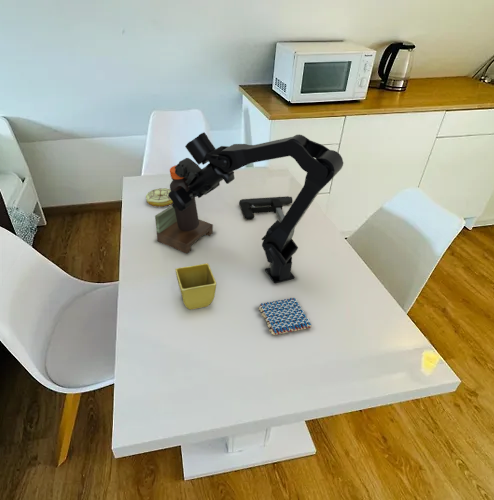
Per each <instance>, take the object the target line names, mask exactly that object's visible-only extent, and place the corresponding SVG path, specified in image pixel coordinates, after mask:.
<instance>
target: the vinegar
mask: <svg viewBox="0 0 494 500" xmlns="http://www.w3.org/2000/svg"><path fill="white" fill-rule="evenodd" d="M175 166H177V164H176V165H175V164H174V165H173V166H171V167H170V168H169V175H170V178H171V180H172V181H171V182H170V184H169V189H170V190H171V191H172V190H173V189H175V188H176V187H178V186H181V187H183V188H184V189H185V190H186V192H187V191H189V190H190V188H189V187H188V186H189V185H187V184H186V182H185V181H187V180H188V179H185V178H184V177H182V178H180V177H179V176H178V175H177V174H176V173H175ZM192 194H193V193H192ZM192 194H190V195H192ZM190 195H189V196H190ZM174 209H175V214H176V219H177V224H178V227H179V229H181V230H183V231H191V230H194V229H196V228H197V227H198V225H199V220H200V219H199V214H198V209H197V201H196V197H194V198H192V205H190V206H189V207H188V208H186V209H185V210H183V211H179V209H178V208H174Z"/></svg>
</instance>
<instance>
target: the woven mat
mask: <svg viewBox="0 0 494 500" xmlns="http://www.w3.org/2000/svg"><path fill="white" fill-rule="evenodd" d="M299 304H300V302H299V301H298V299H296V298H295V297H290V298H287V299H286V298H284V299H281V300H280V299H278V300H276V301H274V300H273V301H270V302H269V301H267V302H264V303H263V302H261V303H260V304H259V307H258V311H260V312H261V317H263V318H264V319H265V321H266V322H267V323H266V325H267V327H268V328H269V330H268V332H269V333H271V334H272V335H274V336H275V335H278V336H279V335H281V334H286V333H289V332H290V333H292V332H297V331H301V330H306V329H311V327H312V324H311V321H310V318H309V317H307V314H306V313H305V311H304V310H303V308H302V306H301V305H299Z"/></svg>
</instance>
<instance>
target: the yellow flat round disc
mask: <svg viewBox="0 0 494 500" xmlns="http://www.w3.org/2000/svg"><path fill="white" fill-rule="evenodd" d="M169 192H171V190H170V188H167V187H160V188H155V189H151V190H150V191H148V192H147V194H145V198H146V202H147V204H148V205H149V206H152V207H158V208H159V207H160V208H161V207H163V208H164V207H169V206H171V205H172V204H173V201H172V200H171V199H170V197H169V196H168V193H169Z"/></svg>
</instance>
